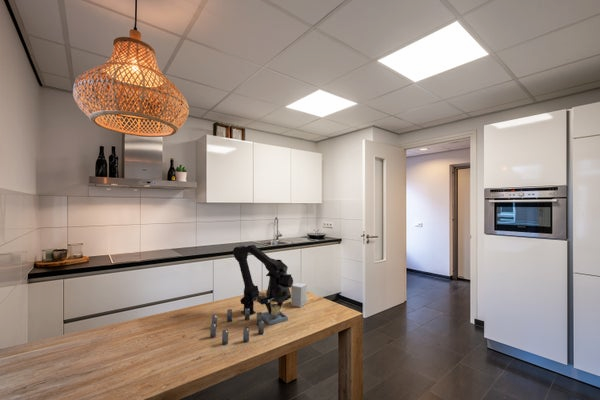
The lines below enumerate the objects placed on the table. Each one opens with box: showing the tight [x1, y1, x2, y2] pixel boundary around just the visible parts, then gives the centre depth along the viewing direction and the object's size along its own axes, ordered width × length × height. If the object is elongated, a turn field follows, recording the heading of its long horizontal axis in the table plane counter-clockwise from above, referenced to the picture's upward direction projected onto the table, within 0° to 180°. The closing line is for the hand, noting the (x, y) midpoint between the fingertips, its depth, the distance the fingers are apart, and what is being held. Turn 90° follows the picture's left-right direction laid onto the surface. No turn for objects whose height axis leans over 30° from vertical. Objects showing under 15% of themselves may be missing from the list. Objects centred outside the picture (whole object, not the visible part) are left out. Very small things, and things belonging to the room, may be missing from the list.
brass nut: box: [269, 303, 281, 317], centre depth 148 cm, size 6×5×5 cm
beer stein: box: [265, 259, 291, 303], centre depth 182 cm, size 16×19×25 cm
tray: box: [261, 310, 289, 326], centre depth 148 cm, size 11×11×2 cm
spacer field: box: [209, 308, 265, 346], centre depth 135 cm, size 27×27×6 cm
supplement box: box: [290, 282, 308, 308], centre depth 169 cm, size 7×7×13 cm
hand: (274, 312), depth 148 cm, fingers closed on brass nut, 5 cm apart
